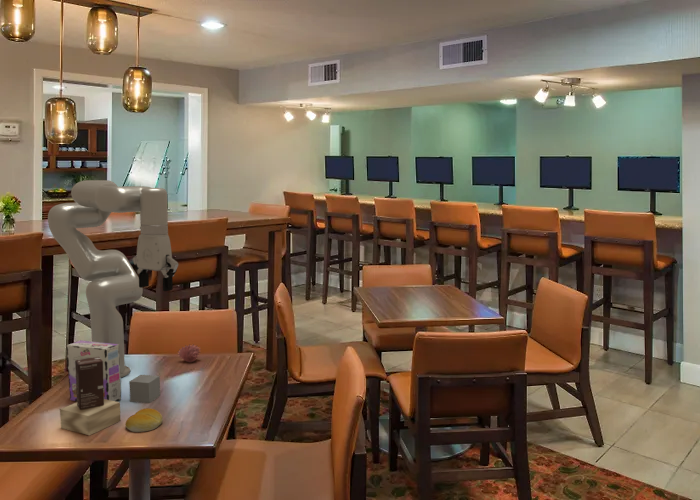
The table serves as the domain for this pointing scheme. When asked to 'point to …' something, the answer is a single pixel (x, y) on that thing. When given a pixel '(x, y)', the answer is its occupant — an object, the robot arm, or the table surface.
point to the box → (89, 382)
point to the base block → (90, 417)
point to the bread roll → (144, 420)
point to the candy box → (110, 366)
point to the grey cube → (144, 388)
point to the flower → (189, 353)
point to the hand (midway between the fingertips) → (155, 288)
